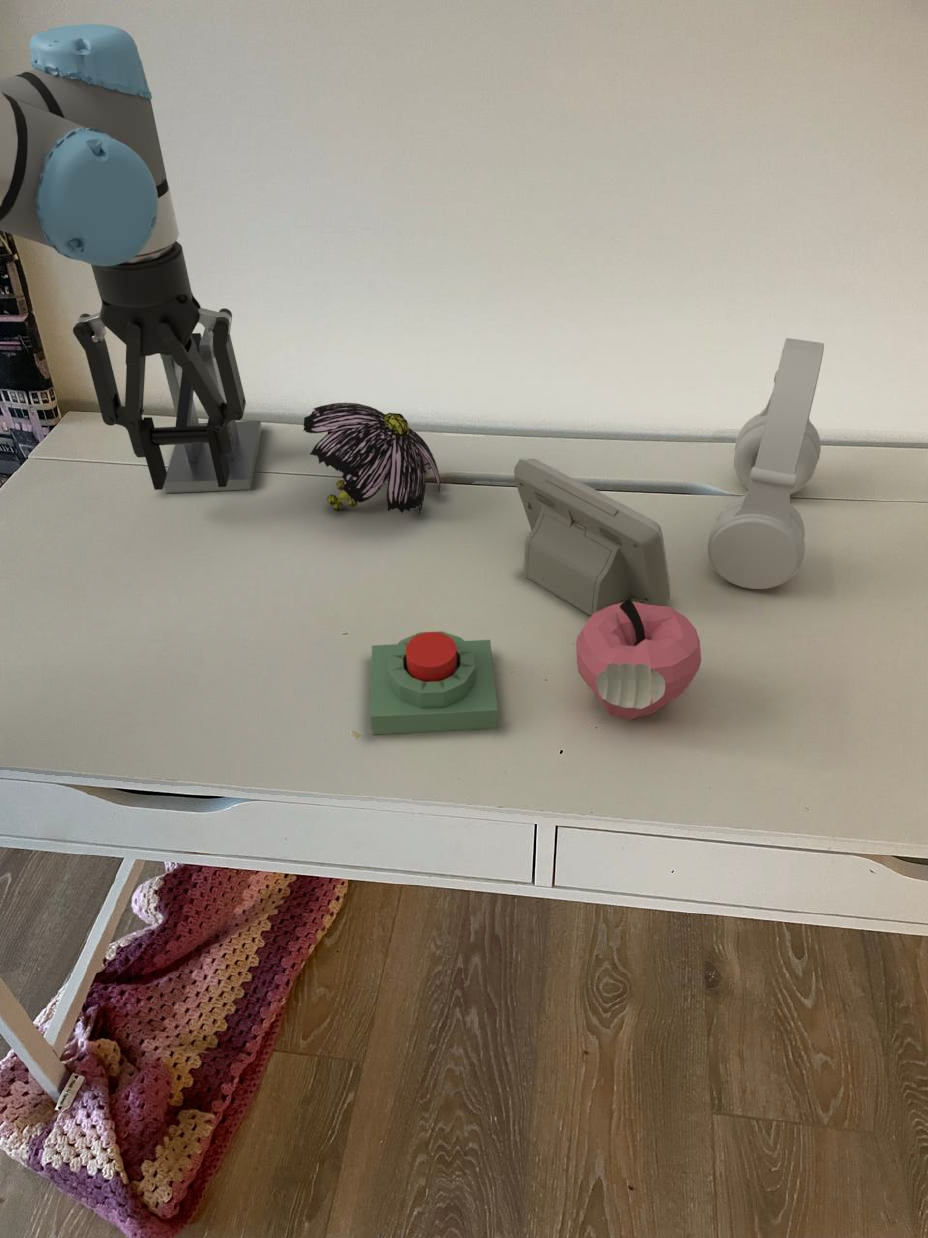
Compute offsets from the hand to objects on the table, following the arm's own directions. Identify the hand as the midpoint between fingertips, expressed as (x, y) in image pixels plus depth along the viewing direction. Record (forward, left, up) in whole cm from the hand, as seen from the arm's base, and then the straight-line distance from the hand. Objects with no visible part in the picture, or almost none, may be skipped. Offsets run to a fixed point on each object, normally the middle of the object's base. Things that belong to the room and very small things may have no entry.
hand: (192, 480), depth 93 cm
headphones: (+56, -6, -5) cm, 57 cm away
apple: (+39, -28, -5) cm, 48 cm away
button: (+23, -26, -1) cm, 35 cm away
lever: (0, +6, +6) cm, 8 cm away
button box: (+23, -26, -5) cm, 35 cm away
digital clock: (+38, -12, -5) cm, 40 cm away
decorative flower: (+18, +2, -5) cm, 19 cm away
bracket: (0, +11, -5) cm, 11 cm away
